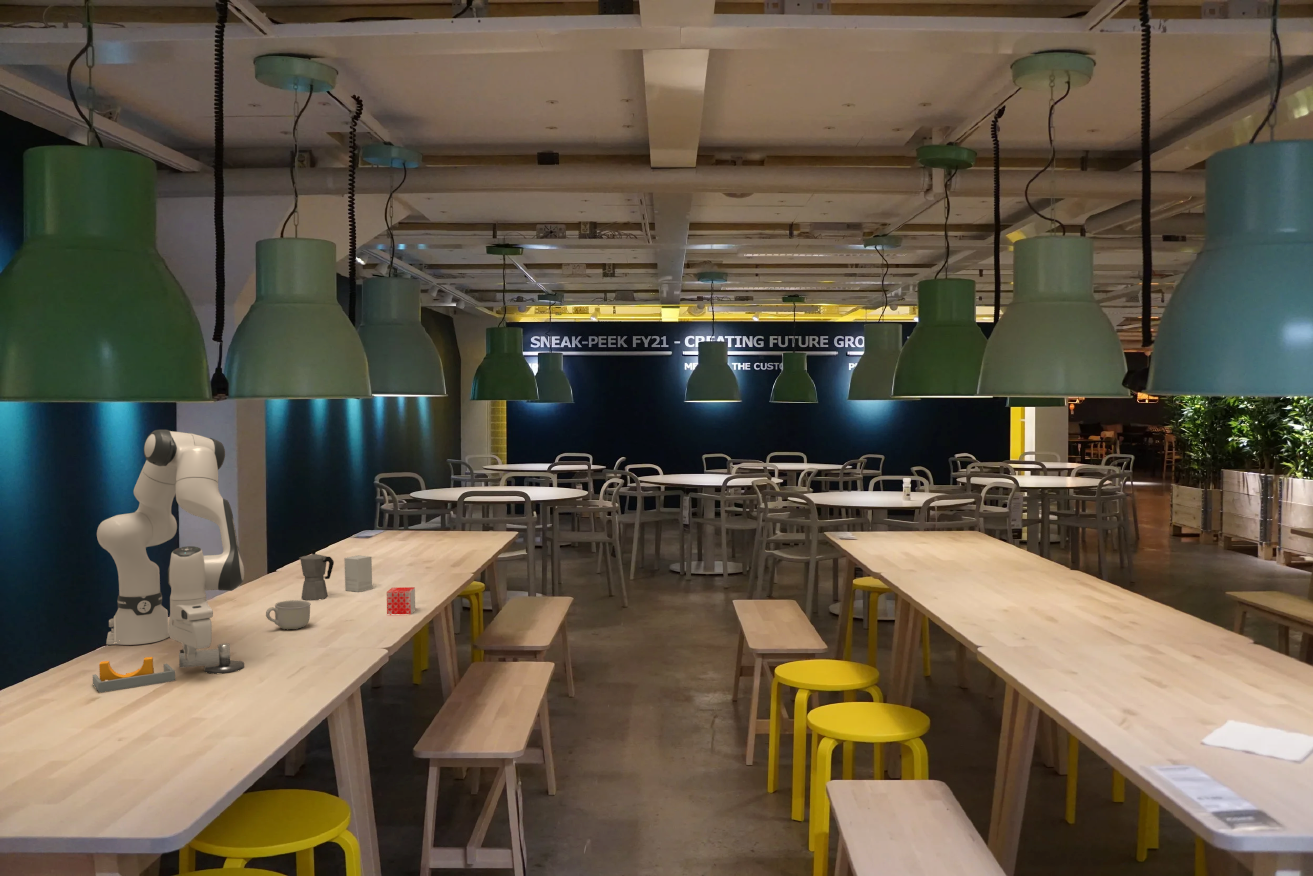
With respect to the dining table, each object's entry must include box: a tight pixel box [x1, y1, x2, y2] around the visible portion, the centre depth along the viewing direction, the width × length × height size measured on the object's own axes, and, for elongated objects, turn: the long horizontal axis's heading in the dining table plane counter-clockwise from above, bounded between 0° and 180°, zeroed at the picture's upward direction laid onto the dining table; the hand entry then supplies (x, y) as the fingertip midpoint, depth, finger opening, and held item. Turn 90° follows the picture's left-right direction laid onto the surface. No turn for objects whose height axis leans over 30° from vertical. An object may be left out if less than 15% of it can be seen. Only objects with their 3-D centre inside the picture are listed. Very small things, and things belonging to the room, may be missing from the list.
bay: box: [92, 663, 176, 693], centre depth 264 cm, size 10×18×2 cm, turn 127°
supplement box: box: [343, 555, 373, 593], centre depth 389 cm, size 7×7×13 cm
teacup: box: [265, 599, 311, 631], centre depth 325 cm, size 14×11×8 cm
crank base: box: [203, 659, 245, 675], centre depth 277 cm, size 10×10×1 cm
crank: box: [178, 642, 231, 669], centre depth 275 cm, size 12×3×5 cm, turn 107°
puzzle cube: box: [386, 586, 416, 615], centre depth 347 cm, size 8×8×8 cm
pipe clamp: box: [98, 656, 155, 681], centre depth 263 cm, size 12×4×6 cm, turn 112°
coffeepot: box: [298, 548, 335, 601], centre depth 373 cm, size 15×9×18 cm, turn 68°
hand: (190, 660), depth 272 cm, fingers closed
